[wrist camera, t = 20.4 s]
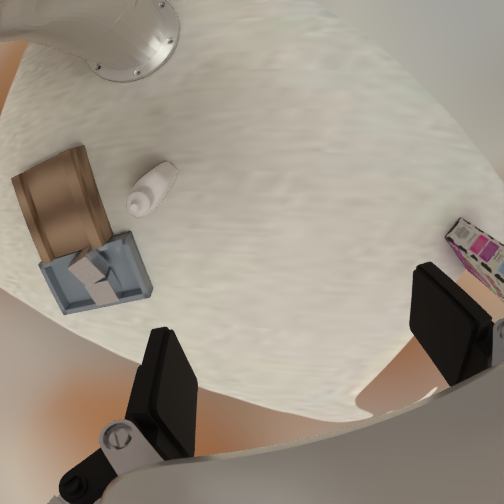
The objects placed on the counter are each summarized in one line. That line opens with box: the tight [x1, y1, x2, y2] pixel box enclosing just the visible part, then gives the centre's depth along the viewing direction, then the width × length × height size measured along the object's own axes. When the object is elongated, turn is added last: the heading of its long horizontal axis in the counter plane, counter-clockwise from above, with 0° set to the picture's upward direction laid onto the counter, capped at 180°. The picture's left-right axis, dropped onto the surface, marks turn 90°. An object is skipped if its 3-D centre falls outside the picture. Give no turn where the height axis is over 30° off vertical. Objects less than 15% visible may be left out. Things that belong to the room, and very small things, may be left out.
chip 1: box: [67, 244, 110, 287], centre depth 38 cm, size 4×4×2 cm
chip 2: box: [84, 269, 123, 306], centre depth 41 cm, size 4×4×2 cm
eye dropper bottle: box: [126, 161, 178, 218], centre depth 33 cm, size 4×6×12 cm
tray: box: [38, 231, 153, 315], centre depth 41 cm, size 9×16×2 cm, turn 102°
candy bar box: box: [445, 218, 504, 302], centre depth 38 cm, size 11×5×16 cm, turn 51°
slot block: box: [11, 146, 113, 265], centre depth 36 cm, size 13×10×4 cm
